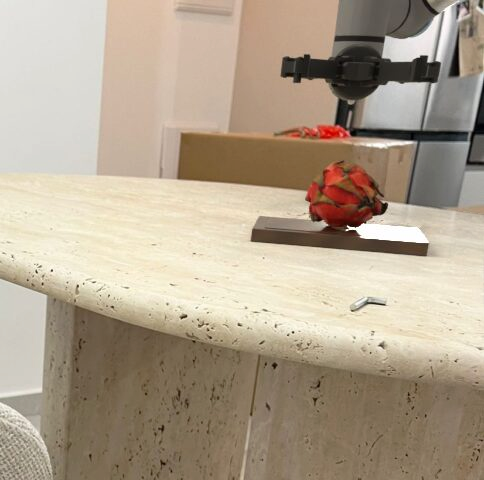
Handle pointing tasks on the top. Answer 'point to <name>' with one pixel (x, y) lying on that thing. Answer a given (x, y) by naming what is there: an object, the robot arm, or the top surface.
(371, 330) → the top surface
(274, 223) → the cutting board
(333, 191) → the dragon fruit
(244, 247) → the top surface
